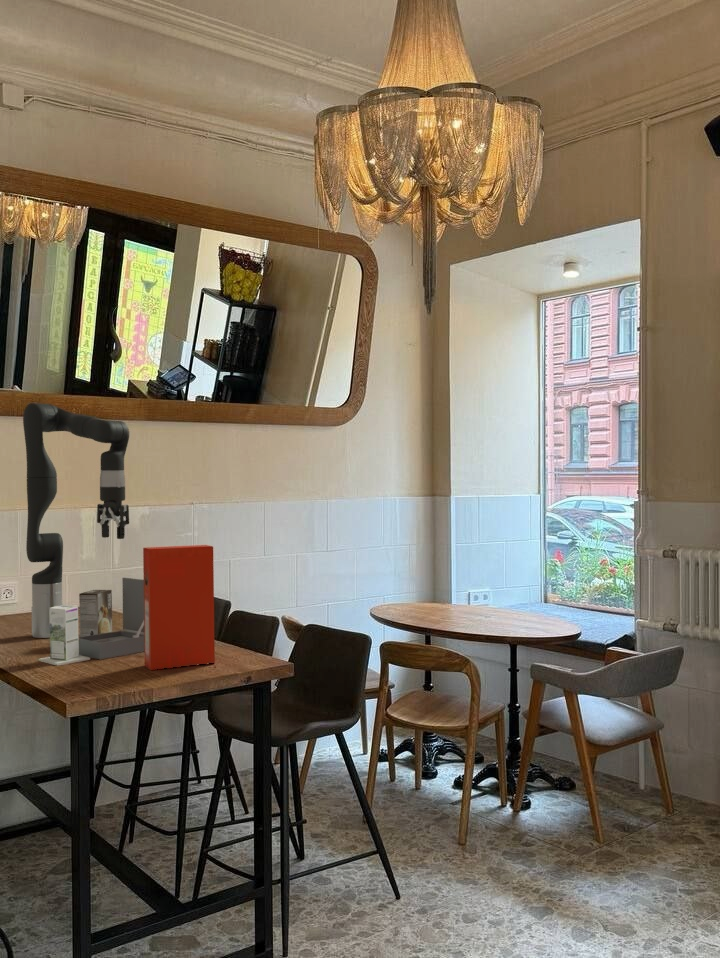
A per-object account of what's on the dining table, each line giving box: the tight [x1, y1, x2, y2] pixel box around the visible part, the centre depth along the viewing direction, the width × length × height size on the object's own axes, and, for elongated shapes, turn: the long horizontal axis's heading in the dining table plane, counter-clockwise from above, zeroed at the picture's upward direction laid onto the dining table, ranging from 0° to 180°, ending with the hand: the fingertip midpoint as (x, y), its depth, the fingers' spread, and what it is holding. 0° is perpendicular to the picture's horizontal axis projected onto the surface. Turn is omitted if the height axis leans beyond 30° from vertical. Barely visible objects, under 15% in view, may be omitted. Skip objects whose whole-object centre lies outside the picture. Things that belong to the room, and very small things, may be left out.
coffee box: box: [78, 589, 113, 637], centre depth 274 cm, size 9×6×16 cm
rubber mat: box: [38, 655, 91, 666], centre depth 248 cm, size 10×10×1 cm
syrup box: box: [49, 604, 79, 660], centre depth 248 cm, size 6×6×14 cm
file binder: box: [142, 544, 216, 671], centre depth 241 cm, size 8×17×32 cm, turn 116°
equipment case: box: [78, 577, 145, 661], centre depth 260 cm, size 14×17×20 cm
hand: (113, 538), depth 273 cm, fingers open, 8 cm apart
